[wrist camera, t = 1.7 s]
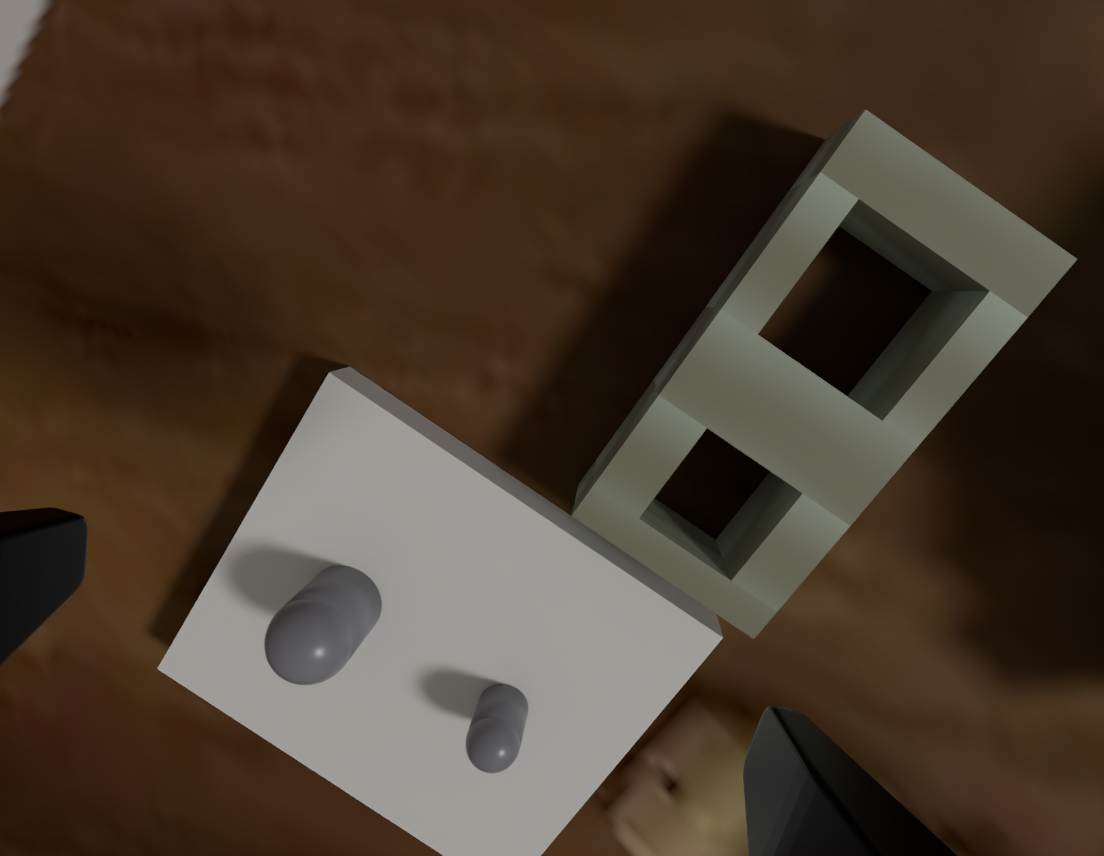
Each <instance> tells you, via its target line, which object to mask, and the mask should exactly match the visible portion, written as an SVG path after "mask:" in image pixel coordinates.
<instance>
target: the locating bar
mask: <svg viewBox="0 0 1104 856" xmlns="http://www.w3.org/2000/svg"><path fill="white" fill-rule="evenodd" d="M838 226H840V227H841V228H842V229H844V230H845V231H847V232H848V233H850V234H851V235H852V236H854V237H855V238H857V239H858V240H860V241H861V242H862V243H864V244H865V245H867V246H868V247H870V248H871V249H872V250H874V251H875V252H877V253H878V254H880V255H881V256H882V257H884V258H885V259H887V260H888V261H890V262H891V263H892V264H894V265H895V266H897V267H898V268H900V269H901V270H902V271H904V272H905V273H907V274H908V275H910V276H911V277H912V278H914V279H915V280H917V281H918V282H920V283H921V284H922V285H924V286H925V287H927V288H928V289H930V290H931V293H930V294H929V295H928V296H927V298H926V299H925V300H924V301H923V303H922V304H921V305H920V306H919V308H918V309H917V310H916V311H915V313H914V314H913V315H912V316H911V318H910V319H909V320H908V321H907V322H906V324H905V325H904V326H903V327H902V329H901V330H900V331H899V332H898V334H897V335H896V336H895V337H894V339H893V340H892V341H891V342H890V344H889V345H888V346H887V347H886V349H885V350H884V351H883V352H882V354H881V355H880V356H879V357H878V359H877V360H876V361H875V362H874V364H873V365H872V366H871V367H870V369H869V370H868V371H867V372H866V374H865V375H864V376H863V377H862V378H861V380H860V381H859V382H858V383H857V385H856V386H855V387H854V388H853V390H852V391H851V392H850V393H849V395H848V396H846V395H844V394H843V393H842V392H840V391H839V390H837V389H836V388H834V387H833V386H831V385H830V384H829V383H827V382H826V381H824V380H823V379H821V378H820V377H818V376H817V375H815V374H814V373H813V372H811V371H810V370H808V369H807V368H805V367H804V366H802V365H801V364H800V363H798V362H797V361H795V360H794V359H792V358H791V357H789V356H788V355H787V354H785V353H784V352H782V351H781V350H779V349H778V348H776V347H775V346H774V345H772V344H771V343H769V342H768V341H766V340H765V339H763V338H762V337H760V336H759V335H758V333H759V332H760V331H761V329H762V328H763V327H764V325H765V324H766V323H767V321H768V320H769V318H770V317H771V316H772V314H773V313H774V312H775V310H776V309H777V308H778V306H779V305H780V304H781V302H782V301H783V300H784V298H785V297H786V296H787V294H788V293H789V292H790V290H791V289H792V288H793V286H794V285H795V284H796V282H797V281H798V280H799V278H800V277H801V276H802V274H803V273H804V272H805V270H806V269H807V268H808V266H809V265H810V264H811V262H812V261H813V260H814V258H815V257H816V256H817V254H818V253H819V252H820V250H821V249H822V247H823V246H824V245H825V243H826V242H827V241H828V239H829V238H830V237H831V235H832V234H833V233H834V231H835V230H836V229H837V227H838ZM1076 260H1077V258H1075V257H1074V256H1072V255H1071V254H1069V253H1068V252H1067V251H1065V250H1064V249H1062V248H1061V247H1060V246H1058V245H1057V244H1055V243H1054V242H1052V241H1051V240H1050V239H1048V238H1047V237H1045V236H1044V235H1043V234H1041V233H1040V232H1038V231H1037V230H1036V229H1034V228H1033V227H1031V226H1030V225H1028V224H1027V223H1026V222H1024V221H1023V220H1021V219H1020V218H1019V217H1017V216H1016V215H1014V214H1013V213H1011V212H1010V211H1009V210H1007V209H1006V208H1004V207H1003V206H1002V205H1000V204H999V203H997V202H996V201H994V200H993V199H992V198H990V197H989V196H987V195H986V194H985V193H983V192H982V191H980V190H979V189H978V188H976V187H975V186H973V185H972V184H970V183H969V182H968V181H966V180H965V179H963V178H962V177H961V176H959V175H958V174H956V173H955V172H953V171H952V170H951V169H949V168H948V167H946V166H945V165H944V164H942V163H941V162H939V161H938V160H936V159H935V158H934V157H932V156H931V155H929V154H928V153H927V152H925V151H924V150H922V149H921V148H920V147H918V146H917V145H915V144H914V143H912V142H911V141H910V140H908V139H907V138H905V137H904V136H903V135H901V134H900V133H898V132H897V131H895V130H894V129H893V128H891V127H890V126H888V125H887V124H886V123H884V122H883V121H881V120H880V119H879V118H877V117H876V116H874V115H873V114H871V113H870V112H869V111H867V110H864V111H863V112H862V113H860V114H859V115H858V116H856V117H855V118H854V119H852V120H851V121H849V122H848V123H847V124H845V125H844V126H843V127H841V128H840V129H839V130H837V131H836V132H835V133H833V134H832V135H831V136H829V137H828V138H827V139H826V140H825V141H824V143H823V144H822V145H821V147H820V148H819V149H818V151H817V152H816V154H815V155H814V156H813V158H812V159H811V161H810V162H809V163H808V165H807V166H806V168H805V169H804V170H803V172H802V173H801V175H800V176H799V177H798V179H797V180H796V182H795V183H794V184H793V186H792V187H791V189H790V190H789V191H788V193H787V194H786V196H785V197H784V198H783V200H782V201H781V202H780V204H779V205H778V207H777V208H776V209H775V211H774V212H773V214H772V215H771V216H770V218H769V219H768V221H767V222H766V223H765V225H764V226H763V228H762V229H761V230H760V232H759V233H758V235H757V236H756V237H755V239H754V240H753V242H752V243H751V244H750V246H749V247H748V249H747V250H746V251H745V253H744V254H743V256H742V257H741V258H740V260H739V261H738V262H737V264H736V265H735V267H734V268H733V269H732V271H731V272H730V274H729V275H728V276H727V278H726V279H725V281H724V282H723V283H722V285H721V286H720V288H719V289H718V290H717V292H716V293H715V295H714V296H713V297H712V299H711V300H710V302H709V303H708V304H707V306H706V307H705V309H704V310H703V311H702V313H701V314H700V315H699V317H698V318H697V320H696V321H695V322H694V324H693V325H692V327H691V328H690V329H689V331H688V332H687V334H686V335H685V336H684V338H683V339H682V341H681V342H680V343H679V345H678V346H677V348H676V349H675V350H674V352H673V353H672V355H671V356H670V357H669V359H668V360H667V362H666V363H665V364H664V366H663V367H662V368H661V370H660V371H659V373H658V374H657V375H656V377H655V378H654V380H653V381H652V382H651V384H650V385H649V387H648V388H647V389H646V391H645V392H644V394H643V395H642V396H641V398H640V399H639V401H638V402H637V403H636V405H635V406H634V408H633V409H632V410H631V412H630V413H629V415H628V416H627V417H626V419H625V420H624V421H623V423H622V424H621V426H620V427H619V428H618V430H617V431H616V433H615V434H614V435H613V437H612V438H611V440H610V441H609V442H608V444H607V445H606V447H605V448H604V449H603V451H602V452H601V454H600V455H599V456H598V458H597V459H596V461H595V462H594V463H593V465H592V466H591V468H590V469H589V470H588V472H587V473H586V474H585V476H584V477H583V479H582V480H581V481H580V483H579V484H578V489H577V493H576V498H575V502H574V506H573V511H572V515H571V516H572V517H573V518H575V519H576V520H578V521H579V522H581V523H582V524H584V525H585V526H587V527H588V528H590V529H591V530H593V531H594V532H596V533H597V534H599V535H600V536H602V537H603V538H605V539H606V540H608V541H609V542H611V543H612V544H613V545H615V546H616V547H618V548H619V549H621V550H622V551H624V552H625V553H627V554H628V555H630V556H631V557H633V558H634V559H636V560H637V561H639V562H640V563H642V564H643V565H645V566H646V567H648V568H649V569H651V570H652V571H654V572H655V573H656V574H658V575H659V576H661V577H662V578H664V579H665V580H667V581H668V582H670V583H671V584H673V585H674V586H676V587H677V588H679V589H680V590H682V591H683V592H685V593H686V594H688V595H689V596H691V597H692V598H694V599H695V600H697V601H698V602H699V603H701V604H702V605H704V606H705V607H707V608H708V609H710V610H711V611H713V612H714V613H716V614H717V615H719V616H720V617H722V618H723V619H725V620H726V621H728V622H729V623H731V624H732V625H734V626H735V627H737V628H738V629H739V630H741V631H742V632H744V633H745V634H747V635H748V636H750V637H751V638H753V639H754V638H755V637H756V636H757V635H758V634H759V632H760V631H761V630H762V629H763V628H764V627H765V625H766V624H767V623H768V622H769V621H770V620H771V618H772V617H773V616H774V615H775V614H776V613H777V611H778V610H779V609H780V608H781V607H782V605H783V604H784V603H785V602H786V601H787V600H788V598H789V597H790V596H791V595H792V594H793V593H794V591H795V590H796V589H797V588H798V587H799V586H800V584H801V583H802V582H803V581H804V580H805V578H806V577H807V576H808V575H809V574H810V573H811V571H812V570H813V569H814V568H815V567H816V566H817V564H818V563H819V562H820V561H821V560H822V559H823V557H824V556H825V555H826V554H827V553H828V551H829V550H830V549H831V548H832V547H833V546H834V544H835V543H836V542H837V541H838V540H839V539H840V537H841V536H842V535H843V534H844V533H845V532H846V530H847V529H848V528H849V527H850V526H851V524H852V523H853V522H854V521H855V520H856V519H857V517H858V516H859V515H860V514H861V513H862V512H863V510H864V509H865V508H866V507H867V506H868V505H869V503H870V502H871V501H872V500H873V499H874V497H875V496H876V495H877V494H878V493H879V492H880V490H881V489H882V488H883V487H884V486H885V485H886V483H887V482H888V481H889V480H890V479H891V477H892V476H893V475H894V474H895V473H896V472H897V470H898V469H899V468H900V467H901V466H902V465H903V463H904V462H905V461H906V460H907V459H908V458H909V456H910V455H911V454H912V453H913V452H914V450H915V449H916V448H917V447H918V446H919V445H920V443H921V442H922V441H923V440H924V439H925V438H926V436H927V435H928V434H929V433H930V432H931V431H932V429H933V428H934V427H935V426H936V425H937V423H938V422H939V421H940V420H941V419H942V418H943V416H944V415H945V414H946V413H947V412H948V411H949V409H950V408H951V407H952V406H953V405H954V404H955V402H956V401H957V400H958V399H959V398H960V396H961V395H962V394H963V393H964V392H965V391H966V389H967V388H968V387H969V386H970V385H971V384H972V382H973V381H974V380H975V379H976V378H977V377H978V375H979V374H980V373H981V372H982V371H983V369H984V368H985V367H986V366H987V365H988V364H989V362H990V361H991V360H992V359H993V358H994V357H995V355H996V354H997V353H998V352H999V351H1000V350H1001V348H1002V347H1003V346H1004V345H1005V344H1006V342H1007V341H1008V340H1009V339H1010V338H1011V337H1012V335H1013V334H1014V333H1015V332H1016V331H1017V330H1018V328H1019V327H1020V326H1021V325H1022V324H1023V323H1024V321H1025V320H1026V319H1027V318H1028V317H1029V315H1030V314H1031V313H1032V312H1033V311H1034V310H1035V308H1036V307H1037V306H1038V305H1039V304H1040V303H1041V301H1042V300H1043V299H1044V298H1045V297H1046V296H1047V294H1048V293H1049V292H1050V291H1051V290H1052V288H1053V287H1054V286H1055V285H1056V284H1057V283H1058V281H1059V280H1060V279H1061V278H1062V277H1063V276H1064V274H1065V273H1066V272H1067V271H1068V270H1069V268H1070V267H1071V266H1072V265H1073V264H1074V263H1075V261H1076ZM707 428H708V429H709V430H711V431H712V432H714V433H715V434H716V435H718V436H719V437H721V438H722V439H724V440H725V441H727V442H728V443H730V444H731V445H733V446H734V447H735V448H737V449H738V450H740V451H741V452H743V453H744V454H746V455H747V456H749V457H750V458H752V459H753V460H754V461H756V462H757V463H759V464H760V465H762V466H763V467H765V468H766V469H768V470H769V471H770V472H769V473H768V475H767V476H766V477H765V478H764V480H763V481H762V482H761V483H760V485H759V486H758V487H757V488H756V490H755V491H754V492H753V493H752V495H751V496H750V497H749V498H748V500H747V501H746V502H745V504H744V505H743V506H742V507H741V509H740V510H739V511H738V512H737V514H736V515H735V516H734V517H733V519H732V520H731V521H730V522H729V524H728V525H727V526H726V527H725V529H724V530H723V531H722V532H721V534H720V535H719V536H718V537H717V539H716V540H715V539H714V538H712V537H711V536H710V535H708V534H707V533H705V532H704V531H702V530H701V529H699V528H698V527H696V526H695V525H693V524H692V523H690V522H689V521H687V520H686V519H684V518H683V517H682V516H680V515H679V514H677V513H676V512H674V511H673V510H671V509H670V508H668V507H667V506H665V505H664V504H662V503H661V502H659V501H658V500H656V499H655V496H656V495H657V494H658V492H659V491H660V490H661V488H662V487H663V486H664V484H665V483H666V482H667V481H668V479H669V478H670V477H671V475H672V474H673V473H674V471H675V470H676V469H677V467H678V466H679V465H680V463H681V462H682V461H683V459H684V458H685V457H686V455H687V454H688V453H689V451H690V450H691V449H692V447H693V446H694V445H695V443H696V442H697V441H698V439H699V438H700V437H701V435H702V434H703V433H704V431H705V430H706V429H707Z"/></svg>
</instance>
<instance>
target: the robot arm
mask: <svg viewBox="0 0 1104 856" xmlns="http://www.w3.org/2000/svg"><path fill="white" fill-rule="evenodd" d="M87 540H88V524H87V521H86V519H85V518H84V517H83V516H81V515H79V514H76V513H72V512H68V511H65V510H61V509H58V508H39V509H29V510H18V511H8V512H0V666H1V665H2V664H3V663H4V662H5V661H6V660H7V659H8V658H9V657H10V656H11V655H12V654H13V653H14V652H15V651H16V650H17V649H18V648H19V647H20V646H21V645H22V644H23V643H24V642H25V641H26V640H27V639H28V638H29V637H30V636H31V635H32V634H33V633H35V632H36V631H37V630H38V629H39V628H40V627H41V626H42V625H43V624H44V623H45V622H46V621H47V620H48V619H49V618H50V617H51V616H52V615H53V614H54V613H55V612H56V611H57V610H58V609H59V608H60V607H61V606H62V605H63V604H64V603H65V602H66V601H67V600H68V599H69V598H70V597H71V596H72V595H73V594H74V593H75V592H76V591H77V589H78V588H79V587H80V585H81V583H82V581H83V578H84V575H85V567H86V553H87ZM743 782H744V795H745V809H746V822H747V835H748V848H749V856H957V855H956V854H955V853H954V852H953V851H952V850H951V849H950V848H949V847H947V846H946V845H945V844H944V843H943V842H942V841H941V840H940V839H939V838H938V837H937V836H935V835H934V834H933V833H932V832H931V831H930V830H929V829H928V828H927V827H926V826H925V825H924V824H922V823H921V822H920V821H919V820H918V819H917V818H916V817H915V816H914V815H913V814H912V813H910V812H909V811H908V810H907V809H906V808H905V807H904V806H903V805H902V804H901V803H900V802H899V801H897V800H896V799H895V798H894V797H893V796H892V795H891V794H890V793H889V792H888V791H887V790H885V789H884V788H883V787H882V786H881V785H880V784H879V783H878V782H877V781H876V780H875V779H874V778H872V777H871V776H870V775H869V774H868V773H867V772H866V771H865V770H864V769H863V768H862V767H860V766H859V765H858V764H857V763H856V762H855V761H854V760H853V759H852V758H851V757H850V756H848V755H847V754H846V753H845V752H844V751H843V750H842V749H841V748H840V747H839V746H838V745H837V744H835V743H834V742H833V741H832V740H831V739H830V738H829V737H828V736H827V735H826V734H825V733H823V732H822V731H821V730H820V729H819V728H818V727H817V726H816V725H815V724H814V723H813V722H812V721H810V720H809V719H808V718H807V717H806V716H805V715H804V714H802V713H800V712H798V711H794V710H791V709H787V708H783V707H780V706H776V705H771V706H769V707H767V708H766V710H765V711H764V712H763V715H762V717H761V719H760V722H759V725H758V727H757V730H756V732H755V735H754V737H753V740H752V743H751V745H750V748H749V750H748V753H747V756H746V759H745V763H744V769H743Z"/></svg>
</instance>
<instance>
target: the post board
mask: <svg viewBox="0 0 1104 856" xmlns="http://www.w3.org/2000/svg"><path fill="white" fill-rule="evenodd" d="M722 638H723V636H722V632H721V629H720V625H719V622H718V618H717V615H716V613H714V612H713V611H711V610H710V609H708V608H707V607H705V606H704V605H702V604H701V603H699V602H698V601H697V600H695V599H694V598H692V597H691V596H689V595H688V594H686V593H685V592H683V591H682V590H680V589H679V588H677V587H676V586H674V585H673V584H671V583H670V582H668V581H667V580H665V579H664V578H662V577H661V576H659V575H658V574H656V573H655V572H654V571H652V570H651V569H649V568H648V567H646V566H645V565H643V564H642V563H640V562H639V561H637V560H636V559H634V558H633V557H631V556H630V555H628V554H627V553H625V552H624V551H622V550H621V549H619V548H618V547H616V546H615V545H613V544H612V543H611V542H609V541H608V540H606V539H605V538H603V537H602V536H600V535H599V534H597V533H596V532H594V531H593V530H591V529H590V528H588V527H587V526H585V525H584V524H582V523H581V522H579V521H578V520H576V519H575V518H573V517H572V516H571V515H569V514H568V513H566V512H565V511H563V510H562V509H560V508H559V507H557V506H556V505H554V504H553V503H551V502H550V501H548V500H547V499H545V498H544V497H542V496H541V495H539V494H538V493H536V492H535V491H534V490H532V489H531V488H529V487H528V486H526V485H525V484H523V483H522V482H520V481H519V480H517V479H516V478H514V477H513V476H511V475H510V474H508V473H507V472H505V471H504V470H502V469H501V468H499V467H498V466H496V465H495V464H494V463H492V462H491V461H489V460H488V459H486V458H485V457H483V456H482V455H480V454H479V453H477V452H476V451H474V450H473V449H471V448H470V447H468V446H467V445H465V444H464V443H462V442H461V441H459V440H458V439H456V438H455V437H453V436H452V435H451V434H449V433H448V432H446V431H445V430H443V429H442V428H440V427H439V426H437V425H436V424H434V423H433V422H431V421H430V420H428V419H427V418H425V417H424V416H422V415H421V414H419V413H418V412H416V411H415V410H413V409H412V408H411V407H409V406H408V405H406V404H405V403H403V402H402V401H400V400H399V399H397V398H396V397H394V396H393V395H391V394H390V393H388V392H387V391H385V390H384V389H382V388H381V387H379V386H378V385H376V384H375V383H373V382H372V381H370V380H369V379H368V378H366V377H365V376H363V375H362V374H360V373H359V372H357V371H356V370H354V369H353V368H351V367H346V368H343V369H339V370H335V371H332V372H329V373H328V375H327V377H326V378H325V380H324V382H323V384H322V385H321V387H320V389H319V390H318V392H317V394H316V396H315V397H314V399H313V401H312V403H311V404H310V406H309V408H308V409H307V411H306V413H305V415H304V416H303V418H302V420H301V422H300V423H299V425H298V427H297V428H296V430H295V432H294V434H293V435H292V437H291V439H290V441H289V442H288V444H287V446H286V447H285V449H284V451H283V453H282V454H281V456H280V458H279V460H278V461H277V463H276V465H275V466H274V468H273V470H272V472H271V473H270V475H269V477H268V479H267V480H266V482H265V484H264V485H263V487H262V489H261V491H260V492H259V494H258V496H257V498H256V499H255V501H254V503H253V504H252V506H251V508H250V510H249V511H248V513H247V515H246V516H245V518H244V520H243V522H242V523H241V525H240V527H239V529H238V530H237V532H236V534H235V535H234V537H233V539H232V541H231V542H230V544H229V546H228V548H227V549H226V551H225V553H224V554H223V556H222V558H221V560H220V561H219V563H218V565H217V567H216V568H215V570H214V572H213V573H212V575H211V577H210V579H209V580H208V582H207V584H206V586H205V587H204V589H203V591H202V592H201V594H200V596H199V598H198V599H197V601H196V603H195V605H194V606H193V608H192V610H191V611H190V613H189V615H188V617H187V618H186V620H185V622H184V624H183V625H182V627H181V629H180V630H179V632H178V634H177V636H176V637H175V639H174V641H173V643H172V644H171V646H170V648H169V649H168V651H167V653H166V655H165V656H164V658H163V660H162V662H161V663H160V665H159V667H158V668H157V669H158V670H160V671H161V672H163V673H164V674H166V675H167V676H169V677H170V678H172V679H174V680H175V681H177V682H178V683H180V684H181V685H183V686H184V687H186V688H187V689H189V690H190V691H192V692H193V693H195V694H197V695H198V696H200V697H201V698H203V699H204V700H206V701H207V702H209V703H210V704H212V705H213V706H215V707H216V708H218V709H220V710H221V711H223V712H224V713H226V714H227V715H229V716H230V717H232V718H233V719H235V720H236V721H238V722H239V723H241V724H243V725H244V726H246V727H247V728H249V729H250V730H252V731H253V732H255V733H256V734H258V735H259V736H261V737H262V738H264V739H266V740H267V741H269V742H270V743H272V744H273V745H275V746H276V747H278V748H279V749H281V750H282V751H284V752H285V753H287V754H289V755H290V756H292V757H293V758H295V759H296V760H298V761H299V762H301V763H302V764H304V765H305V766H307V767H308V768H310V769H311V770H313V771H315V772H316V773H318V774H319V775H321V776H322V777H324V778H325V779H327V780H328V781H330V782H331V783H333V784H334V785H336V786H338V787H339V788H341V789H342V790H344V791H345V792H347V793H348V794H350V795H351V796H353V797H354V798H356V799H357V800H359V801H361V802H362V803H364V804H365V805H367V806H368V807H370V808H371V809H373V810H374V811H376V812H377V813H379V814H380V815H382V816H384V817H385V818H387V819H388V820H390V821H391V822H393V823H394V824H396V825H397V826H399V827H400V828H402V829H403V830H405V831H407V832H408V833H410V834H411V835H413V836H414V837H416V838H417V839H419V840H420V841H422V842H423V843H425V844H426V845H428V846H429V847H431V848H433V849H434V850H436V851H437V852H439V853H440V854H442V855H443V856H541V855H542V854H543V852H544V851H545V850H546V849H547V848H548V846H549V845H550V844H551V843H552V842H553V840H554V839H555V838H556V837H557V836H558V835H559V833H560V832H561V831H562V830H563V829H564V827H565V826H566V825H567V824H568V823H569V821H570V820H571V819H572V818H573V817H574V815H575V814H576V813H577V812H578V811H579V809H580V808H581V807H582V806H583V805H584V803H585V802H586V801H587V800H588V799H589V797H590V796H591V795H592V794H593V793H594V791H595V790H596V789H597V788H598V787H599V786H600V784H601V783H602V782H603V781H604V780H605V778H606V777H607V776H608V775H609V774H610V772H611V771H612V770H613V769H614V768H615V766H616V765H617V764H618V763H619V762H620V760H621V759H622V758H623V757H624V756H625V754H626V753H627V752H628V751H629V750H630V748H631V747H632V746H633V745H634V744H635V742H636V741H637V740H638V739H639V738H640V737H641V735H642V734H643V733H644V732H645V731H646V729H647V728H648V727H649V726H650V725H651V723H652V722H653V721H654V720H655V719H656V717H657V716H658V715H659V714H660V713H661V711H662V710H663V709H664V708H665V707H666V705H667V704H668V703H669V702H670V701H671V699H672V698H673V697H674V696H675V695H676V693H677V692H678V691H679V690H680V689H681V688H682V686H683V685H684V684H685V683H686V682H687V680H688V679H689V678H690V677H691V676H692V674H693V673H694V672H695V671H696V670H697V668H698V667H699V666H700V665H701V664H702V662H703V661H704V660H705V659H706V658H707V656H708V655H709V654H710V653H711V652H712V650H713V649H714V648H715V647H716V646H717V644H718V643H719V642H720V641H721V640H722Z"/></svg>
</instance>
